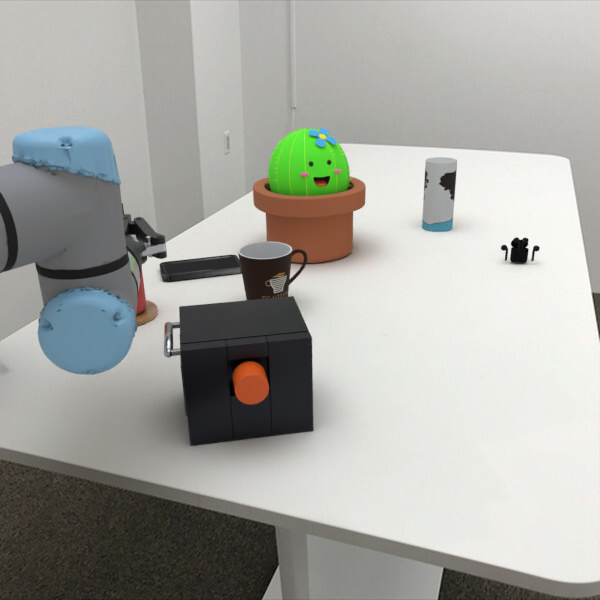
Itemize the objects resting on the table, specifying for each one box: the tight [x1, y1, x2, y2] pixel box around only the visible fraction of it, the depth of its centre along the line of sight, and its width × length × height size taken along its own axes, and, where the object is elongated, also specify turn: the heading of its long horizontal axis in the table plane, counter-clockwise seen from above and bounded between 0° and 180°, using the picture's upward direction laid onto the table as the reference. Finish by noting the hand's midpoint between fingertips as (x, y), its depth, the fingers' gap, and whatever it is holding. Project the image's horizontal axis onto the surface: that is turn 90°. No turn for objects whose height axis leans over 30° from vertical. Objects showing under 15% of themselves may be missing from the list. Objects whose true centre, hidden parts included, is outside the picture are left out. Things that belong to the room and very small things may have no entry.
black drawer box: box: [163, 295, 314, 447], centre depth 76 cm, size 12×16×12 cm
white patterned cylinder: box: [421, 156, 458, 233], centre depth 143 cm, size 7×7×15 cm
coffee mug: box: [237, 241, 308, 300], centre depth 105 cm, size 12×9×10 cm
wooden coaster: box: [136, 299, 159, 327], centre depth 105 cm, size 10×10×1 cm
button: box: [233, 361, 269, 404], centre depth 69 cm, size 3×4×4 cm
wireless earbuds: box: [500, 236, 541, 264], centre depth 123 cm, size 7×2×5 cm, turn 82°
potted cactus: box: [252, 125, 366, 264], centre depth 128 cm, size 22×22×25 cm
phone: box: [158, 254, 242, 282], centre depth 123 cm, size 8×1×15 cm
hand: (118, 213), depth 87 cm, fingers closed
